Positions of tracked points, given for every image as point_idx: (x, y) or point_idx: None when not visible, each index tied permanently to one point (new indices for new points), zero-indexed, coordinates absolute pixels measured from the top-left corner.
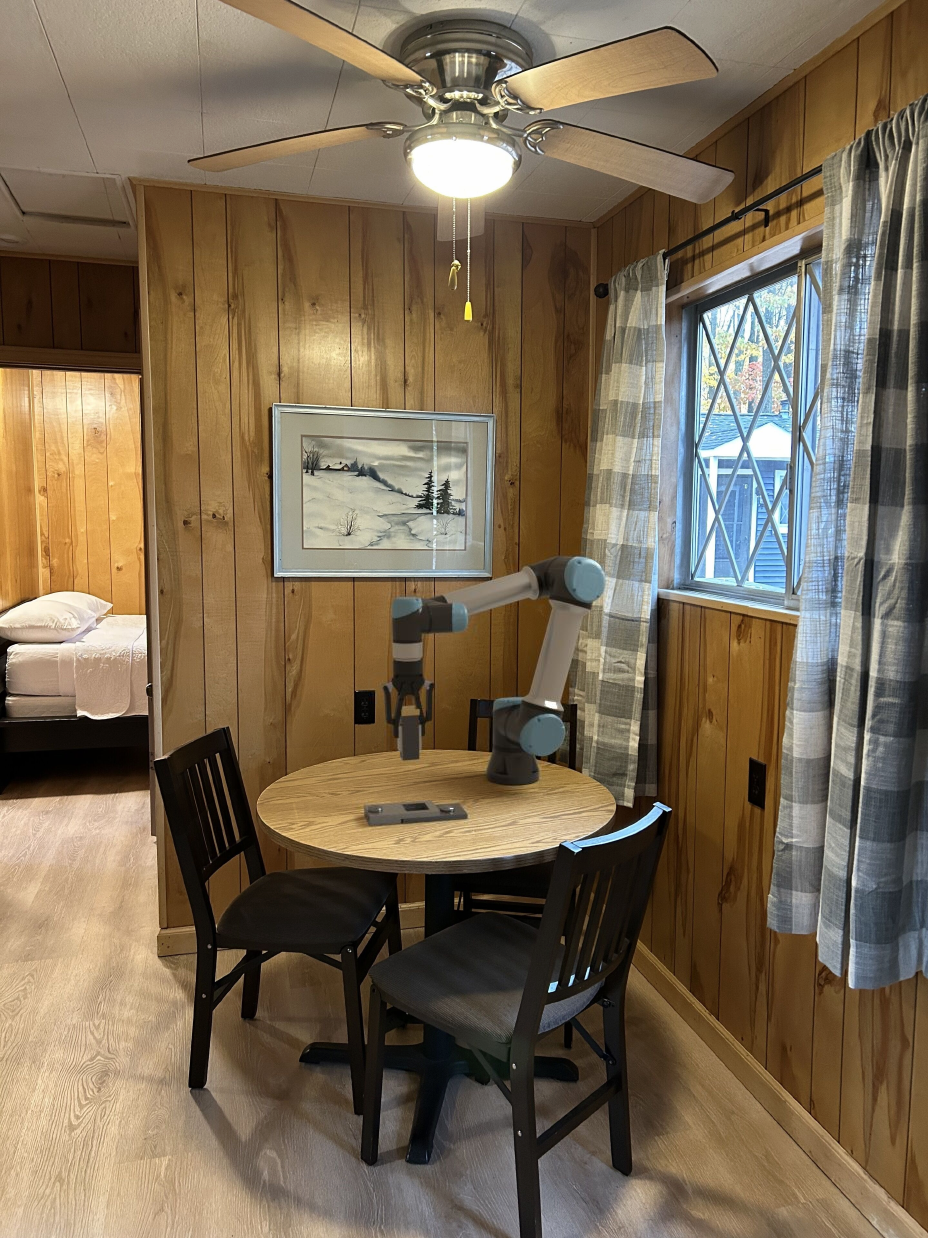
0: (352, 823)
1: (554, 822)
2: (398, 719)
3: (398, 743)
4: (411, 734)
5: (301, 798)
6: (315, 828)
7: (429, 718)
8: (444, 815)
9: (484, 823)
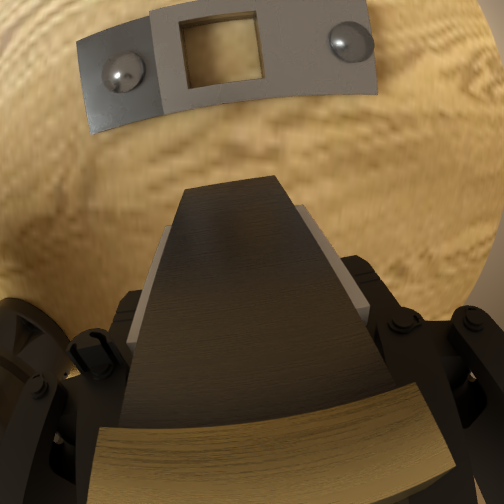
0: (393, 43)
1: None
2: (404, 364)
3: None
4: (230, 253)
5: (456, 245)
6: (458, 44)
7: (37, 389)
8: (138, 19)
9: (52, 25)
